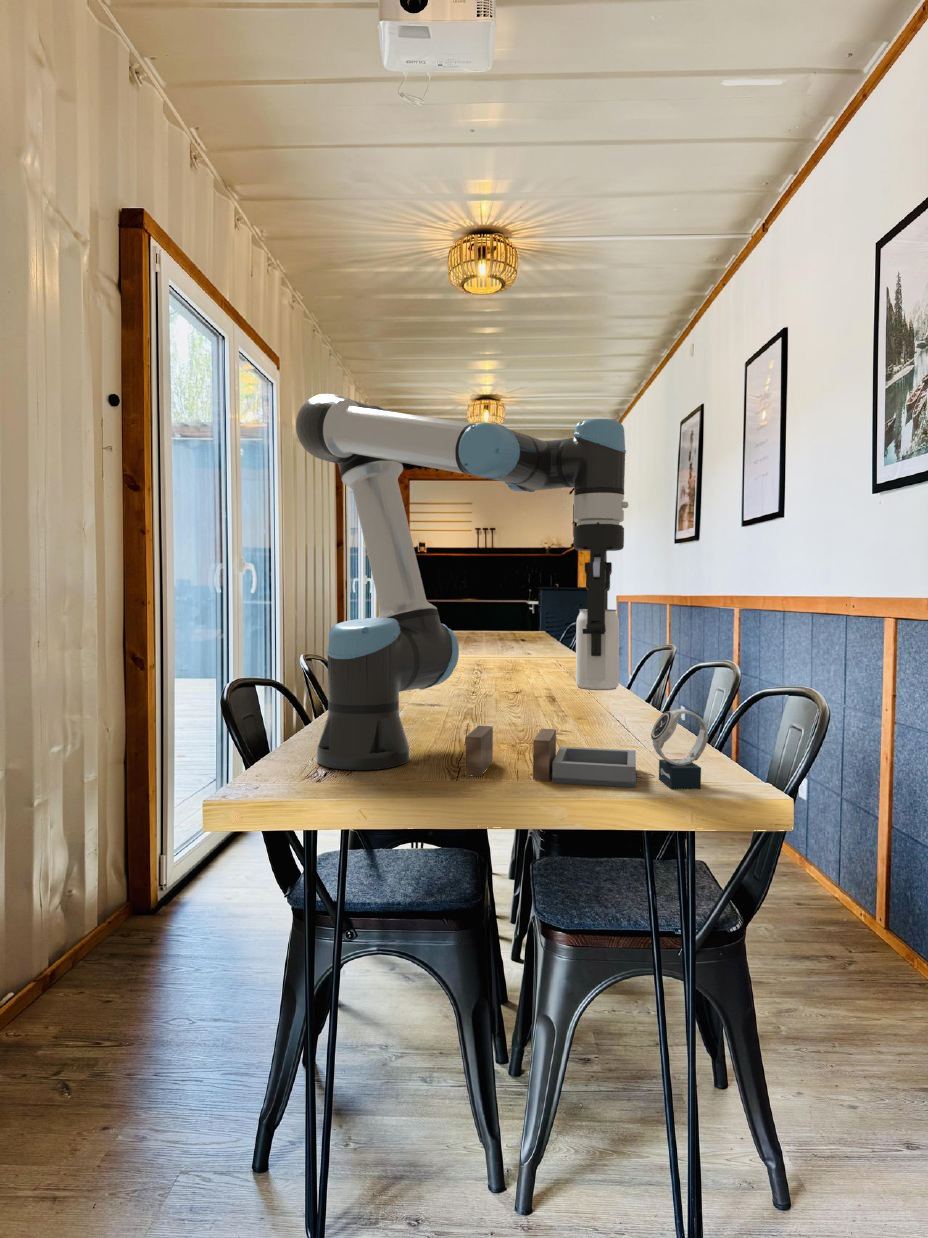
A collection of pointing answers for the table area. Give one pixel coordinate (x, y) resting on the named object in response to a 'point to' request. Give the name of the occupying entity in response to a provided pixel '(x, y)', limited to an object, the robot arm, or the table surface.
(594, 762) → the tray
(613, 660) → the can
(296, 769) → the table surface
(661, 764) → the watch
